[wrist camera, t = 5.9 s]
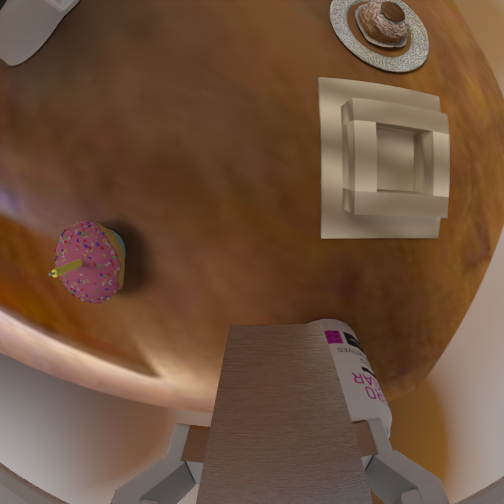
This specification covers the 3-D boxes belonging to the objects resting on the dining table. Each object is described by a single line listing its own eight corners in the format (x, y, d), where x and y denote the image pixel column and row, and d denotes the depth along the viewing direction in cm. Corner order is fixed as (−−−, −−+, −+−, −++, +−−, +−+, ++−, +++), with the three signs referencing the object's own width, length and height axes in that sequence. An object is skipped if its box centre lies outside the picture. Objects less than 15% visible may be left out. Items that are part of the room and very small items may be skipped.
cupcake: (98, 197, 28) (24, 219, 16) (155, 244, 29) (97, 290, 17) (71, 255, 30) (6, 294, 18) (121, 299, 31) (68, 355, 20)
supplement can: (278, 365, 33) (283, 469, 18) (300, 308, 30) (323, 412, 16) (338, 375, 33) (365, 470, 19) (365, 322, 31) (415, 415, 16)
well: (317, 78, 23) (326, 63, 19) (436, 97, 23) (459, 90, 18) (320, 237, 28) (330, 249, 24) (435, 236, 27) (458, 248, 23)
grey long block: (230, 324, 12) (174, 626, 1) (321, 323, 12) (391, 614, 1) (235, 388, 13) (208, 616, 2) (313, 386, 13) (344, 612, 2)
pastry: (417, 7, 19) (433, -8, 15) (428, 86, 23) (450, 77, 18) (325, -18, 20) (332, -39, 15) (329, 62, 23) (340, 45, 19)
